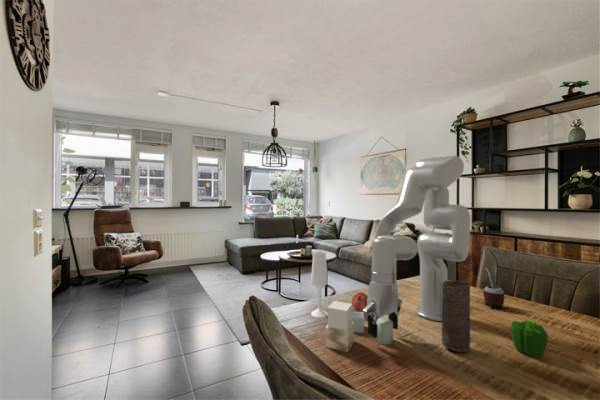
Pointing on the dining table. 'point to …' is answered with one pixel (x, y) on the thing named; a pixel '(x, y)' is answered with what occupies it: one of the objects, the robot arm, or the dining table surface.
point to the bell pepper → (529, 337)
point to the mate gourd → (493, 295)
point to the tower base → (339, 338)
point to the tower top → (340, 315)
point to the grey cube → (358, 321)
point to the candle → (456, 315)
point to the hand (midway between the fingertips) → (383, 331)
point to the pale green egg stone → (384, 331)
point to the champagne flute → (319, 279)
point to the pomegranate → (359, 301)
